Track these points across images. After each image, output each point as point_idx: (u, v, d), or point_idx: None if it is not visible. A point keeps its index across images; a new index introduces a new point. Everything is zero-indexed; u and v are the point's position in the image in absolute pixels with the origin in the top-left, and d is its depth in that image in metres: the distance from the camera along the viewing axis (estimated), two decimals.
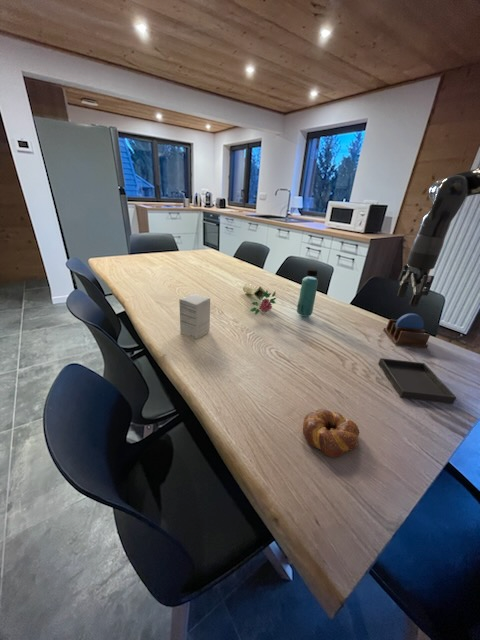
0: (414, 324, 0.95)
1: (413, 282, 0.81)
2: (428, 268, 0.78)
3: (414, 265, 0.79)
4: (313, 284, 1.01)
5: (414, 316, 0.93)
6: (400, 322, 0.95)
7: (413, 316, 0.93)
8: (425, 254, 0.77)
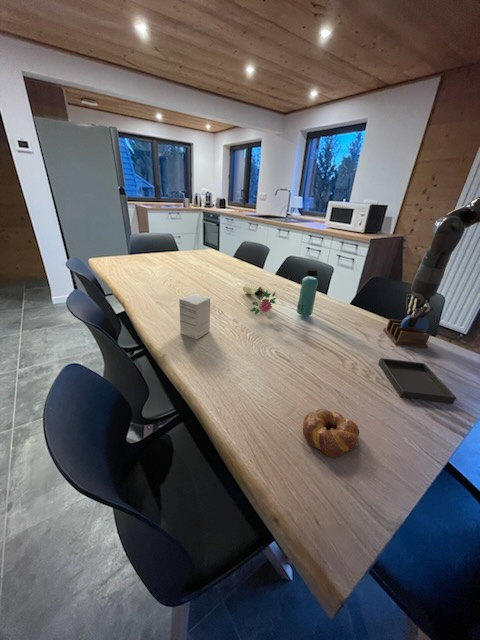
0: (419, 326, 0.95)
1: (414, 307, 0.91)
2: (430, 295, 0.87)
3: (418, 292, 0.88)
4: (313, 284, 1.01)
5: (423, 318, 0.93)
6: (408, 319, 0.94)
7: None
8: (428, 283, 0.85)
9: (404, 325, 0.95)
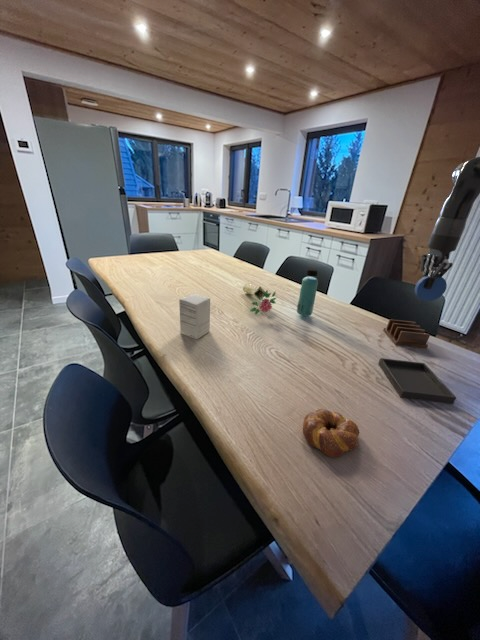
0: (436, 288, 0.87)
1: (431, 265, 0.84)
2: (450, 250, 0.79)
3: (435, 247, 0.81)
4: (313, 284, 1.01)
5: (440, 278, 0.86)
6: (424, 280, 0.87)
7: (439, 278, 0.86)
8: (447, 236, 0.78)
9: (419, 287, 0.88)
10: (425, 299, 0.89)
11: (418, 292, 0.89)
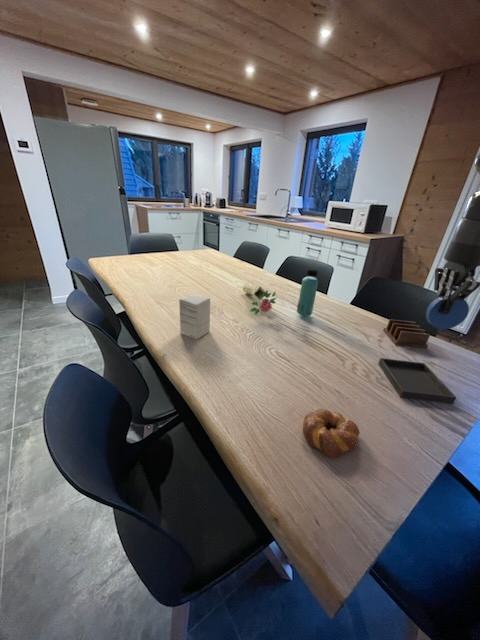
0: (455, 312, 0.66)
1: (449, 284, 0.63)
2: (476, 264, 0.58)
3: (457, 260, 0.59)
4: (313, 284, 1.01)
5: None
6: (439, 303, 0.66)
7: (460, 300, 0.65)
8: (474, 245, 0.57)
9: (433, 311, 0.67)
10: (440, 326, 0.68)
11: (431, 317, 0.67)
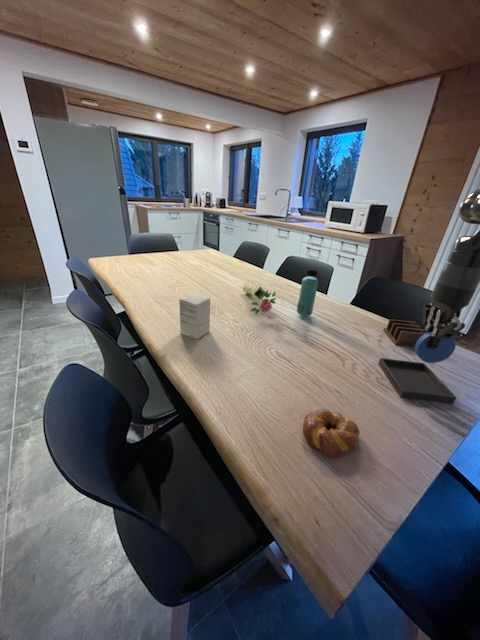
0: (442, 347, 0.68)
1: (436, 322, 0.65)
2: (461, 306, 0.60)
3: (442, 301, 0.62)
4: (313, 284, 1.01)
5: None
6: (427, 339, 0.68)
7: None
8: (458, 289, 0.59)
9: (421, 346, 0.69)
10: (428, 360, 0.70)
11: (419, 352, 0.70)
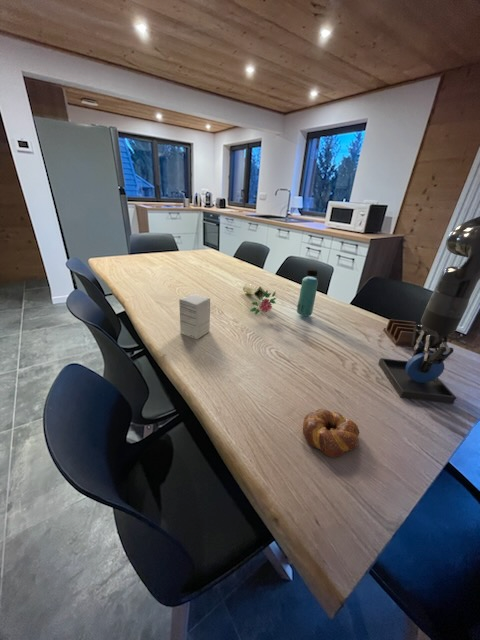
0: (431, 368, 0.71)
1: (427, 347, 0.67)
2: (449, 332, 0.63)
3: (431, 327, 0.65)
4: (313, 284, 1.01)
5: None
6: (416, 360, 0.71)
7: None
8: (445, 316, 0.62)
9: (411, 367, 0.72)
10: (418, 380, 0.73)
11: (410, 373, 0.73)
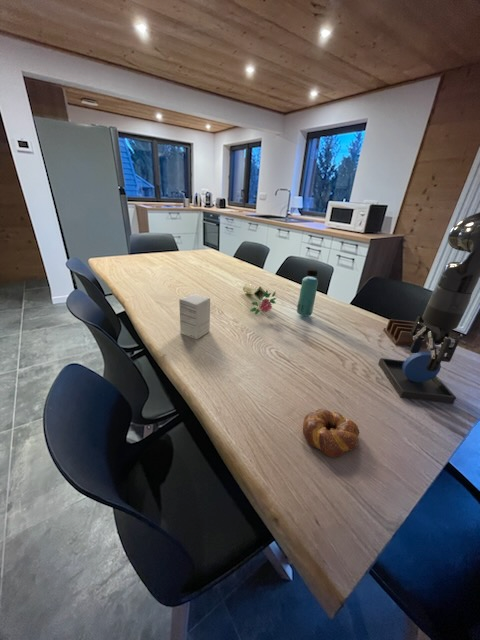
0: None
1: (431, 343, 0.66)
2: (450, 328, 0.63)
3: (433, 323, 0.64)
4: (313, 284, 1.01)
5: (430, 357, 0.70)
6: (410, 362, 0.71)
7: (429, 357, 0.70)
8: (447, 312, 0.62)
9: (407, 369, 0.72)
10: (418, 380, 0.73)
11: (407, 375, 0.73)
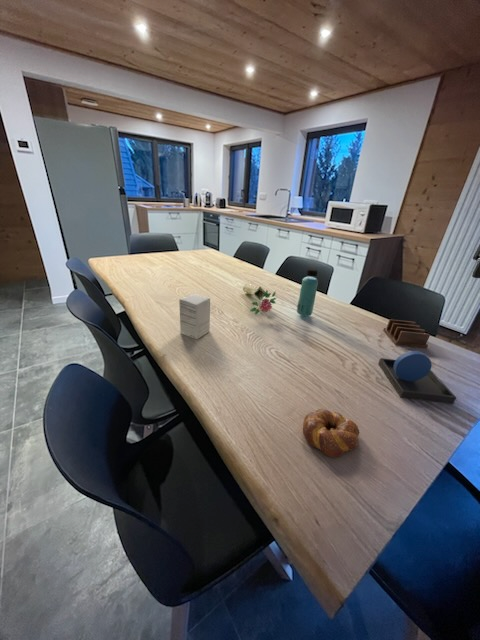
0: (417, 364, 0.71)
1: None
2: None
3: None
4: (313, 284, 1.01)
5: (412, 356, 0.70)
6: (398, 367, 0.72)
7: (411, 356, 0.70)
8: None
9: (399, 374, 0.73)
10: (417, 378, 0.73)
11: (403, 378, 0.73)
